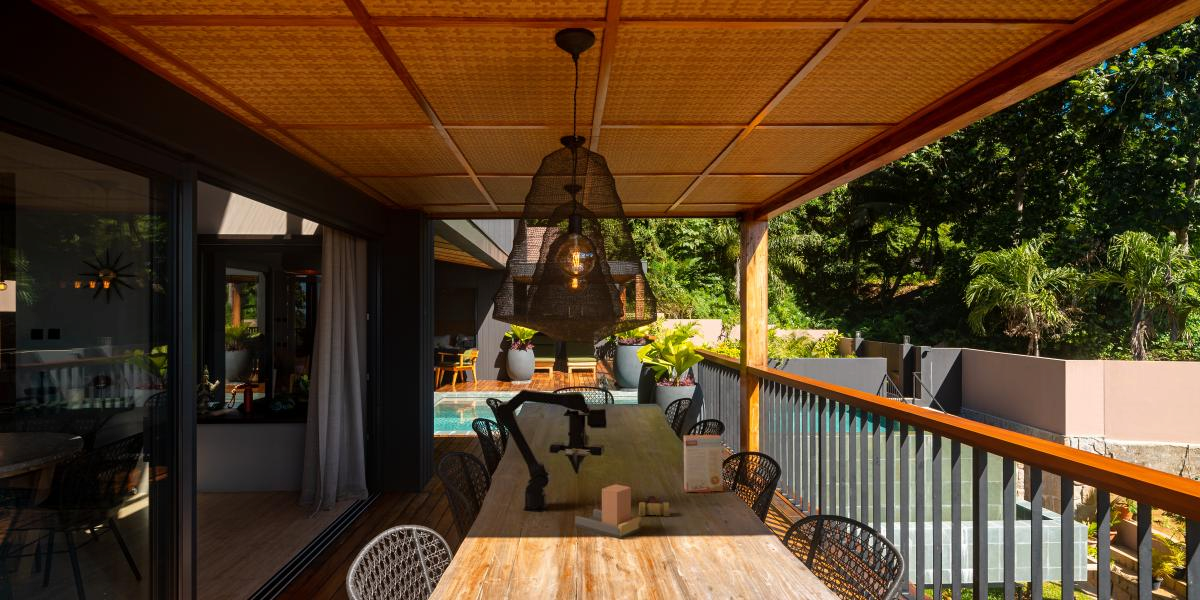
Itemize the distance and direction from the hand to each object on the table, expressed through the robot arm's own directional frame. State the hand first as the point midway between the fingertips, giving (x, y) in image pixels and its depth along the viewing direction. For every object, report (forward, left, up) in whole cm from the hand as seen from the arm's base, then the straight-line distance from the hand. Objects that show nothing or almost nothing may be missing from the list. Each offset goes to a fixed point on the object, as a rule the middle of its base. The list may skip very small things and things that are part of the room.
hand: (577, 473), depth 225 cm
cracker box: (+40, +33, -12) cm, 53 cm away
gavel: (+25, +7, -13) cm, 29 cm away
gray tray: (+15, -18, -12) cm, 26 cm away
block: (+18, -19, -11) cm, 29 cm away
